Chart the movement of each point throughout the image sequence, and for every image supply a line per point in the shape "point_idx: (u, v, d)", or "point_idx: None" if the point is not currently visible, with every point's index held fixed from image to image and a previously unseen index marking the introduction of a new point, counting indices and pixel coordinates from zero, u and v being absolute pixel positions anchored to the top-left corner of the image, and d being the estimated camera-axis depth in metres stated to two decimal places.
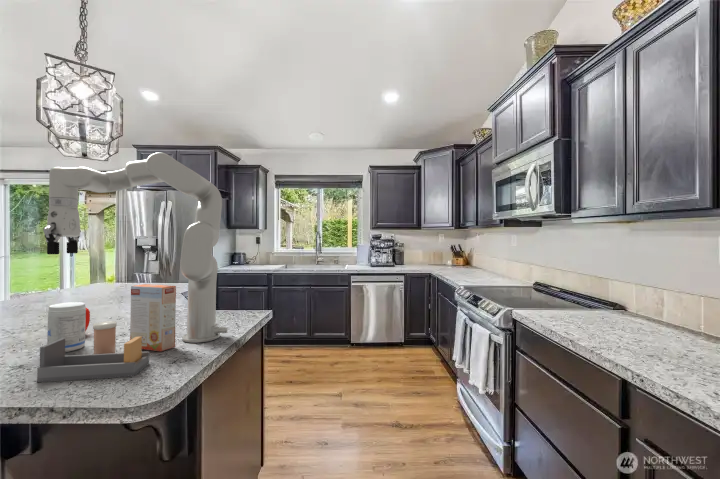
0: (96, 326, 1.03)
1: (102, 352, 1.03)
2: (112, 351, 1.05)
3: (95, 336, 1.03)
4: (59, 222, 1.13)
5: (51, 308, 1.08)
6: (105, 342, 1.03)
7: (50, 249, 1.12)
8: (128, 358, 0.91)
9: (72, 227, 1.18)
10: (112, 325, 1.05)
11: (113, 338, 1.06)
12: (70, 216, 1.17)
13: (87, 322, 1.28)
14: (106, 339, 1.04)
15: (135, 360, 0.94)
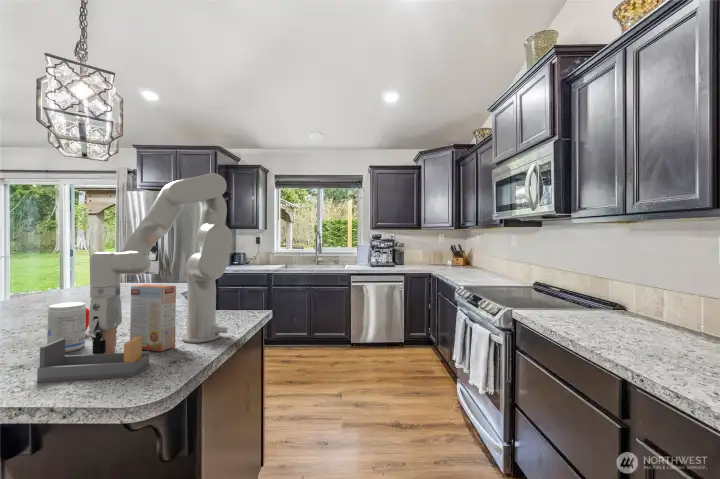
0: None
1: None
2: (112, 351, 1.05)
3: None
4: (102, 316, 1.01)
5: (51, 308, 1.08)
6: None
7: (96, 349, 1.02)
8: (128, 358, 0.91)
9: (115, 317, 1.06)
10: None
11: (113, 338, 1.06)
12: (113, 306, 1.05)
13: (87, 322, 1.28)
14: (106, 339, 1.04)
15: (135, 360, 0.94)
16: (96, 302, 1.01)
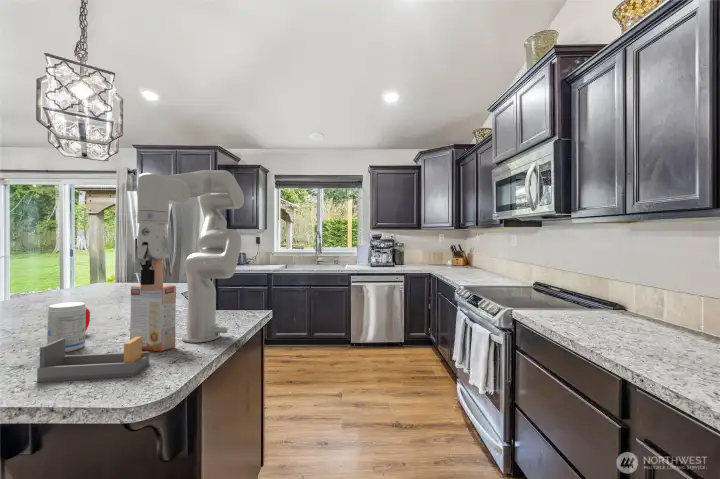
0: None
1: None
2: (160, 284, 0.95)
3: None
4: (152, 242, 0.91)
5: (51, 308, 1.08)
6: None
7: (145, 279, 0.91)
8: (128, 358, 0.91)
9: (163, 247, 0.96)
10: None
11: (161, 270, 0.95)
12: (162, 234, 0.95)
13: (87, 322, 1.28)
14: (154, 269, 0.93)
15: (135, 360, 0.94)
16: (145, 226, 0.91)
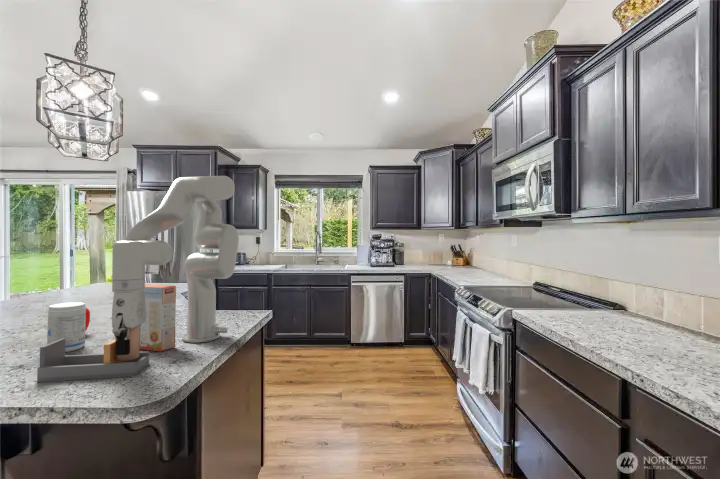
0: None
1: None
2: (136, 352, 0.94)
3: None
4: (127, 312, 0.90)
5: (51, 308, 1.08)
6: None
7: (120, 349, 0.90)
8: (108, 359, 0.90)
9: (139, 314, 0.95)
10: None
11: (137, 337, 0.94)
12: (138, 301, 0.94)
13: (87, 322, 1.28)
14: (130, 338, 0.92)
15: (116, 361, 0.93)
16: (120, 297, 0.90)
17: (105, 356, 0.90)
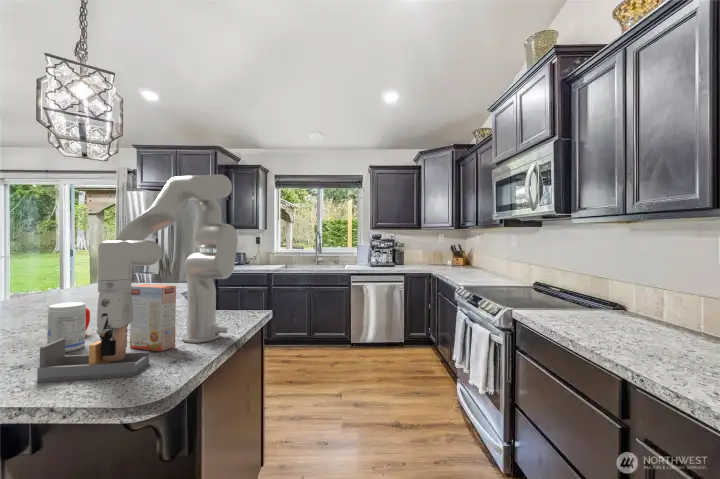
0: None
1: None
2: (122, 352, 0.93)
3: None
4: (112, 313, 0.89)
5: (51, 308, 1.08)
6: None
7: (105, 350, 0.90)
8: (93, 360, 0.89)
9: (125, 314, 0.94)
10: None
11: (123, 338, 0.94)
12: (124, 301, 0.93)
13: (87, 322, 1.28)
14: (116, 339, 0.92)
15: (102, 362, 0.93)
16: (105, 297, 0.89)
17: (90, 357, 0.89)
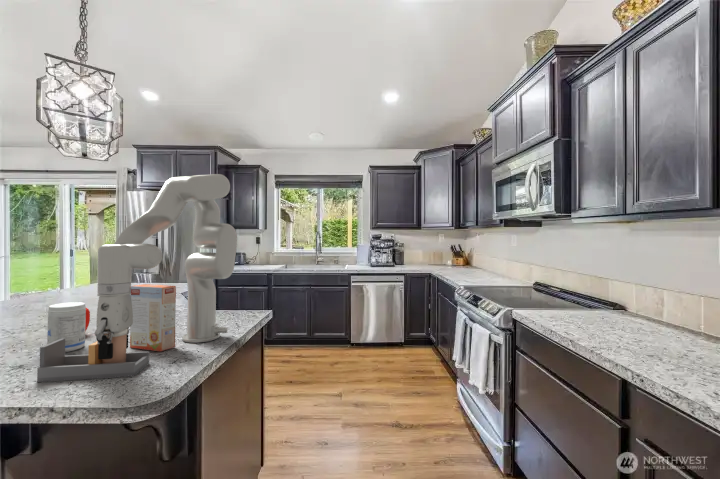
0: None
1: None
2: (122, 361, 0.93)
3: None
4: (112, 317, 0.89)
5: (51, 308, 1.08)
6: (115, 352, 0.92)
7: (102, 353, 0.88)
8: (93, 360, 0.89)
9: (125, 318, 0.94)
10: (123, 332, 0.93)
11: (124, 347, 0.94)
12: (123, 305, 0.93)
13: (87, 322, 1.28)
14: (116, 347, 0.92)
15: (101, 362, 0.93)
16: (105, 301, 0.89)
17: (90, 357, 0.89)
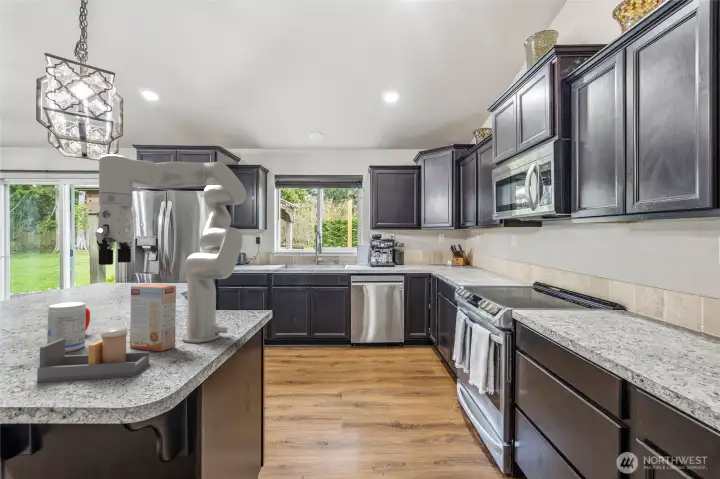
0: (105, 333, 0.91)
1: None
2: (122, 361, 0.93)
3: (103, 345, 0.91)
4: (113, 224, 0.89)
5: (51, 308, 1.08)
6: (115, 352, 0.92)
7: (103, 258, 0.88)
8: (93, 360, 0.89)
9: (126, 230, 0.94)
10: (122, 332, 0.93)
11: (123, 347, 0.94)
12: (125, 216, 0.93)
13: (87, 322, 1.28)
14: (116, 348, 0.92)
15: (101, 362, 0.93)
16: (106, 209, 0.89)
17: (90, 357, 0.89)
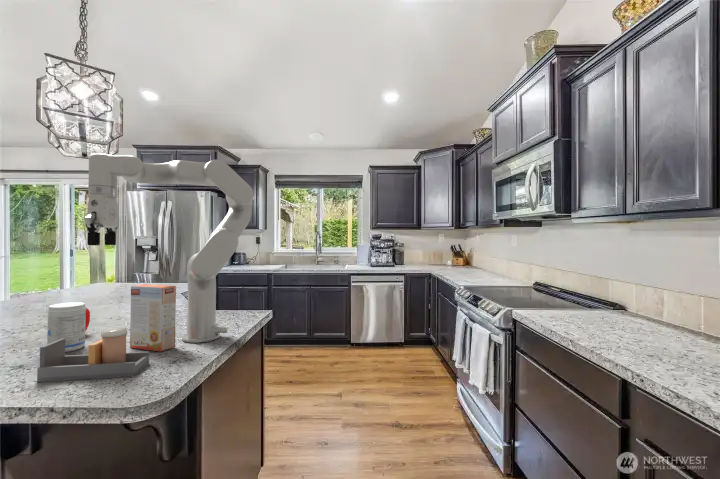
0: (105, 333, 0.91)
1: None
2: (122, 361, 0.93)
3: (103, 345, 0.91)
4: (100, 211, 1.07)
5: (51, 308, 1.08)
6: (115, 352, 0.92)
7: (91, 240, 1.05)
8: (93, 360, 0.89)
9: (112, 217, 1.12)
10: (122, 332, 0.93)
11: (123, 347, 0.94)
12: (110, 205, 1.10)
13: (87, 322, 1.28)
14: (116, 347, 0.92)
15: (101, 362, 0.93)
16: (94, 198, 1.07)
17: (90, 357, 0.89)
